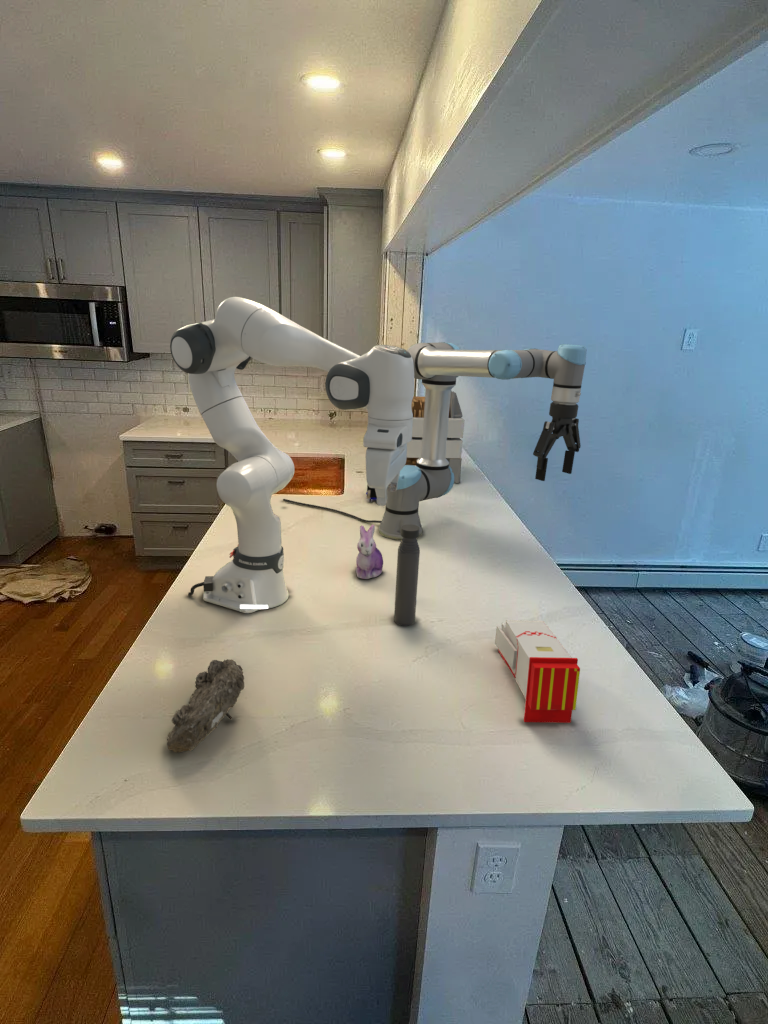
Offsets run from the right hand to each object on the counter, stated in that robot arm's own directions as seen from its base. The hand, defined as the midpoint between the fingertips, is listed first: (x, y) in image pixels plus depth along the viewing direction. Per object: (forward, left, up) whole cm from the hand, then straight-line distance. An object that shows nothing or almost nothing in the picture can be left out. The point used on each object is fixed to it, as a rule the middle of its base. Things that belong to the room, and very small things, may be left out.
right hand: (553, 476), depth 165 cm
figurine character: (-83, +3, -31) cm, 89 cm away
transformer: (-101, +46, -31) cm, 115 cm away
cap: (-4, -53, -6) cm, 53 cm away
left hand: (+4, -68, +7) cm, 69 cm away
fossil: (0, -107, -31) cm, 111 cm away
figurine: (-30, -43, -31) cm, 61 cm away
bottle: (-4, -53, -31) cm, 61 cm away
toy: (+31, -48, -31) cm, 65 cm away
